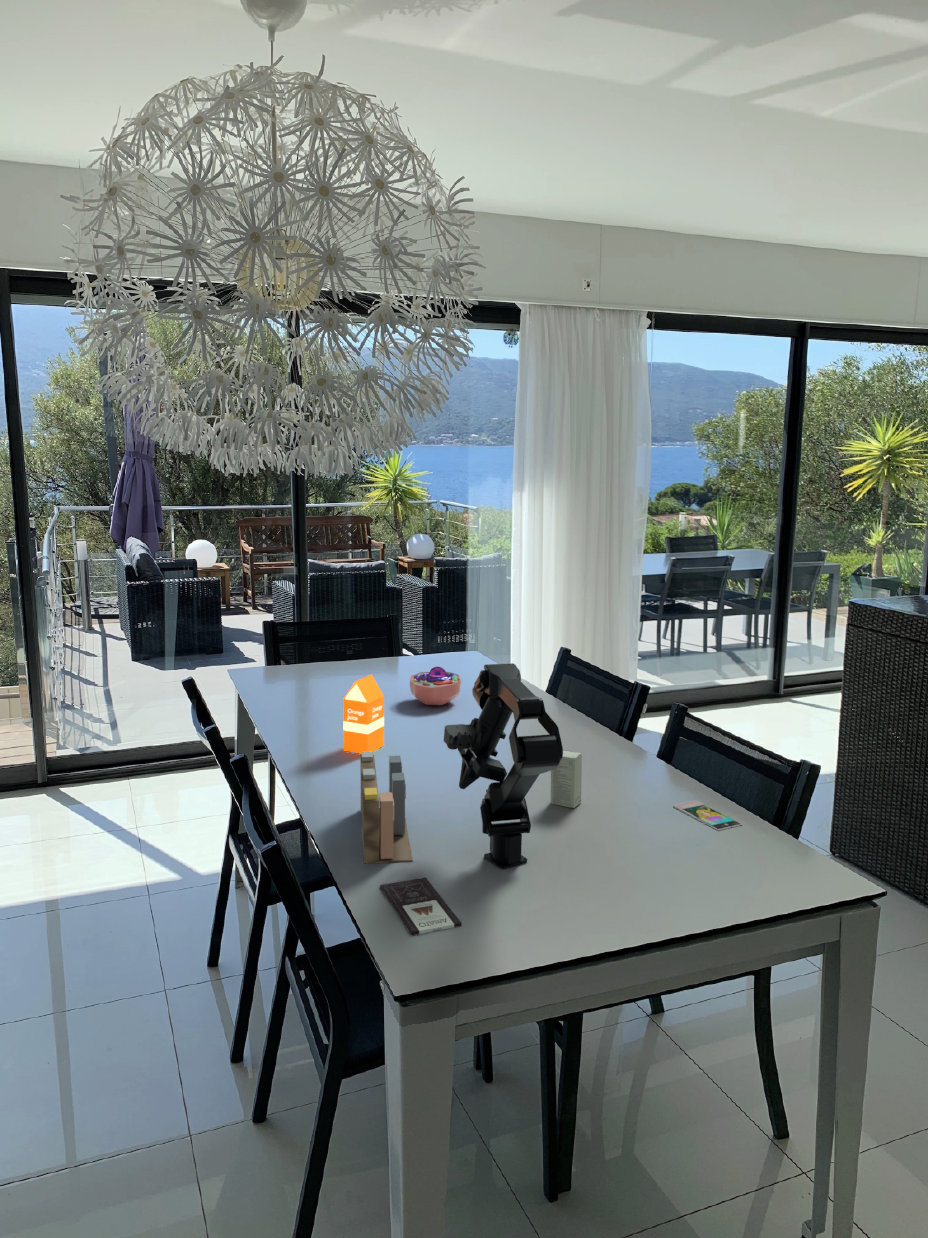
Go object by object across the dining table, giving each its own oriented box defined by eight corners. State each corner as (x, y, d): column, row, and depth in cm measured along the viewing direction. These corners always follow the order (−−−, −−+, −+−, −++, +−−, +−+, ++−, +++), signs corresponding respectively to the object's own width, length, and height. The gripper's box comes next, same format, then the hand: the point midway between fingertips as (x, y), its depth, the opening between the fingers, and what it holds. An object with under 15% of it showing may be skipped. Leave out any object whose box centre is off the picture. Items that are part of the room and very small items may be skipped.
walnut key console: (403, 808, 206) (403, 749, 203) (412, 861, 179) (412, 794, 177) (360, 810, 204) (360, 750, 202) (363, 863, 178) (363, 796, 175)
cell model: (399, 709, 284) (399, 674, 282) (421, 693, 303) (421, 660, 301) (450, 714, 279) (451, 678, 277) (469, 697, 298) (470, 664, 296)
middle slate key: (404, 825, 194) (404, 772, 192) (405, 834, 190) (406, 780, 188) (391, 826, 194) (391, 773, 192) (392, 835, 190) (393, 780, 187)
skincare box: (581, 802, 210) (583, 753, 208) (573, 809, 207) (575, 758, 204) (556, 797, 214) (558, 748, 211) (548, 803, 210) (550, 753, 208)
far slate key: (400, 806, 205) (401, 755, 203) (402, 813, 201) (402, 762, 198) (388, 806, 205) (389, 755, 203) (390, 814, 200) (390, 762, 198)
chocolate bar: (425, 877, 172) (461, 922, 155) (425, 881, 172) (461, 927, 156) (380, 884, 168) (411, 932, 152) (380, 889, 168) (411, 937, 152)
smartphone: (718, 829, 196) (672, 804, 209) (717, 832, 196) (671, 807, 209) (742, 824, 199) (695, 800, 212) (742, 827, 199) (695, 803, 212)
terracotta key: (393, 848, 183) (393, 792, 181) (394, 858, 179) (394, 800, 177) (379, 849, 183) (379, 792, 181) (380, 858, 179) (380, 801, 176)
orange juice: (384, 746, 248) (384, 675, 244) (368, 756, 240) (367, 683, 236) (360, 742, 251) (359, 672, 248) (342, 751, 243) (342, 679, 240)
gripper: (444, 692, 188) (415, 757, 191) (472, 732, 172) (440, 803, 175) (489, 706, 193) (460, 769, 196) (521, 746, 176) (489, 815, 179)
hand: (461, 788), depth 186 cm, fingers closed
